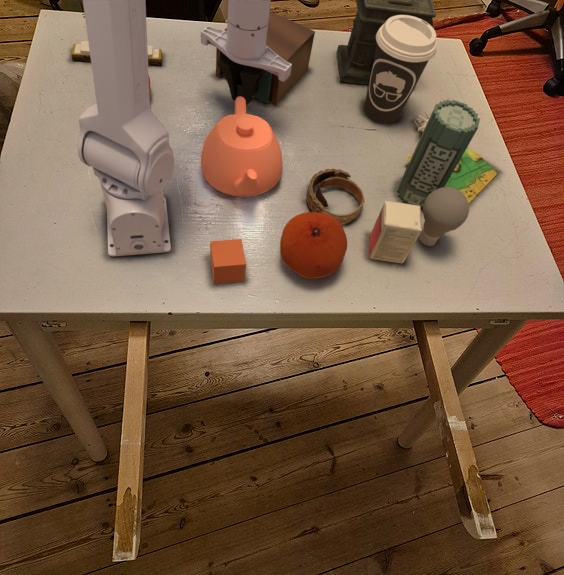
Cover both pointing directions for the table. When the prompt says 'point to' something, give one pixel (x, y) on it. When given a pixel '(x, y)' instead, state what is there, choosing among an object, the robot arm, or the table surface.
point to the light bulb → (443, 213)
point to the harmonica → (83, 53)
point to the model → (374, 34)
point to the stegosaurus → (422, 122)
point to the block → (227, 261)
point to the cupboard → (284, 52)
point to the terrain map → (470, 174)
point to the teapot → (241, 154)
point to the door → (258, 88)
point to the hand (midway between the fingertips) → (242, 99)
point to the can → (438, 150)
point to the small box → (395, 232)
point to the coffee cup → (398, 65)
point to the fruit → (313, 244)
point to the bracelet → (333, 179)
